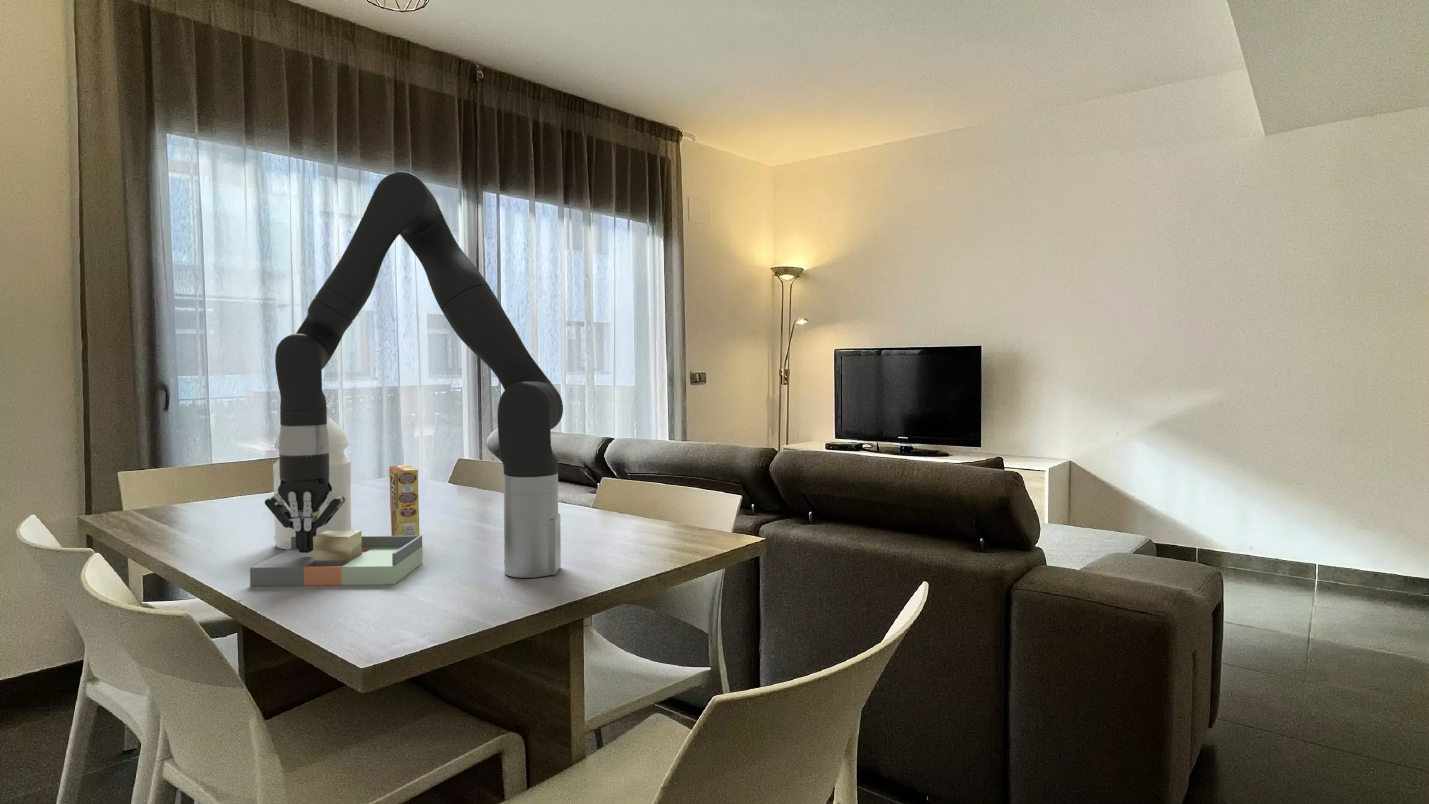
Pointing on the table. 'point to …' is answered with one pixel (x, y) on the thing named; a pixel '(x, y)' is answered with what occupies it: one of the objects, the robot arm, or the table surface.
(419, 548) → the box
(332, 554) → the birch block
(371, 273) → the robot arm
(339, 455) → the bottle
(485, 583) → the table surface
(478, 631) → the table surface
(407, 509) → the candy box
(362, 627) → the table surface
